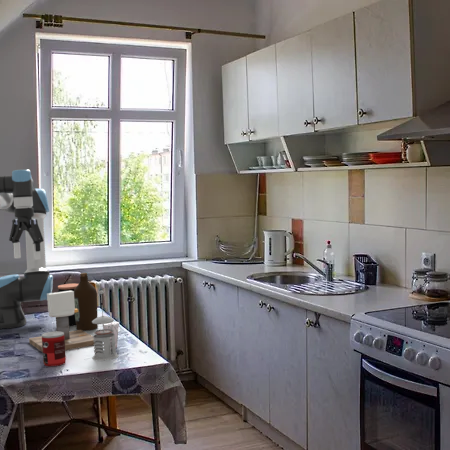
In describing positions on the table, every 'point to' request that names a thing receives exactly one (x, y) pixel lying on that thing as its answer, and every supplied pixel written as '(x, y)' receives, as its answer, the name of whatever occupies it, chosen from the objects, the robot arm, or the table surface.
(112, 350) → the french press
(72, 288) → the coffee jar
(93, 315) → the olive oil
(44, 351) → the canned food
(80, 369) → the table surface
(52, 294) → the cap
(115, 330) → the smoothie
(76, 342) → the post board
